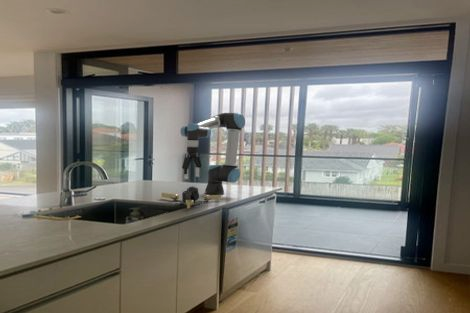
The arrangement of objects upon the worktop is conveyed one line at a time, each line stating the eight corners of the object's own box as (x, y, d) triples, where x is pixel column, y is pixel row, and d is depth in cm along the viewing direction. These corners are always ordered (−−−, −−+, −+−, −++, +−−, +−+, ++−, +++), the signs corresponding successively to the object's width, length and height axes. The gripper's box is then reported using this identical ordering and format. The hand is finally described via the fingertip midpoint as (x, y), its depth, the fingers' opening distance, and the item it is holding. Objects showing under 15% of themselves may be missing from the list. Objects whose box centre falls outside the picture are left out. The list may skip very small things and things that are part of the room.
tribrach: (190, 196, 270) (190, 190, 269) (221, 200, 258) (222, 194, 257) (153, 205, 232) (153, 198, 231) (188, 211, 220) (189, 203, 219)
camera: (195, 203, 237) (195, 188, 237) (180, 202, 239) (181, 187, 238) (200, 200, 250) (201, 185, 250) (186, 199, 252) (187, 184, 251)
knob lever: (179, 200, 251) (180, 194, 251) (175, 201, 247) (175, 195, 246) (164, 197, 257) (164, 192, 257) (159, 198, 252) (160, 193, 252)
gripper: (197, 145, 255) (197, 175, 256) (177, 146, 232) (176, 179, 234) (207, 146, 251) (206, 176, 253) (186, 147, 229) (186, 180, 231)
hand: (191, 177), depth 243 cm, fingers open, 13 cm apart
